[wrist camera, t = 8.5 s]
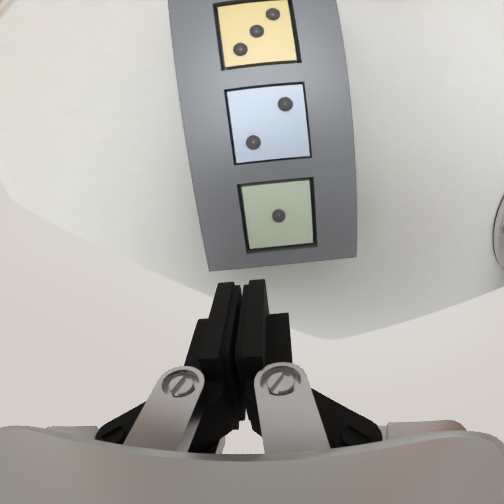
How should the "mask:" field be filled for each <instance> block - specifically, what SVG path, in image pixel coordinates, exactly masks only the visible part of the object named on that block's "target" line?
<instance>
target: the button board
mask: <svg viewBox="0 0 504 504" xmlns="http://www.w3.org/2000/svg"><path fill="white" fill-rule="evenodd" d="M264 1H278V0H168V8H169V18H170V28H171V37H172V45H173V54H174V62H175V70H176V78H177V85H178V92H179V100H180V107H181V114H182V120H183V127H184V134H185V140H186V146H187V153H188V159H189V165H190V171H191V177H192V183H193V188H194V194H195V200H196V205H197V211H198V216H199V222H200V227H201V232H202V237H203V243H204V248H205V253H206V258H207V263H208V268H209V271H220V270H231V269H242V268H252V267H263V266H273V265H283V264H294V263H304V262H313V261H323V260H333V259H342V258H352V257H356V253H357V197H356V167H355V147H354V132H353V120H352V108H351V98H350V88H349V80H348V71H347V64H346V56H345V49H344V43H343V36H342V30H341V24H340V19H339V13H338V8H337V3H336V0H287V1H288V7H289V13H290V19H291V25H292V31H293V38H294V45H295V52H296V59H297V60H296V62H295V63H292V64H278V65H266V66H256V67H248V68H240V69H232V70H227V68H226V67H225V60H224V52H223V45H222V37H221V30H220V22H219V14H218V7H222V6H229V5H236V4H244V3H253V2H264ZM301 84H302V85H303V93H304V102H305V111H306V121H307V131H308V141H309V152H310V156H302V157H290V158H280V159H269V160H260V161H251V162H242V163H237V162H236V155H235V148H234V140H233V133H232V125H231V118H230V110H229V103H228V96H227V92H230V91H238V90H246V89H254V88H263V87H274V86H286V85H301ZM305 177H307V178H308V179H309V182H310V196H311V212H312V230H313V243H304V244H294V245H284V246H274V247H264V248H254V249H250V246H249V239H248V231H247V224H246V216H245V209H244V202H243V194H242V184H245V183H254V182H263V181H272V180H283V179H293V178H305Z"/></svg>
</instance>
